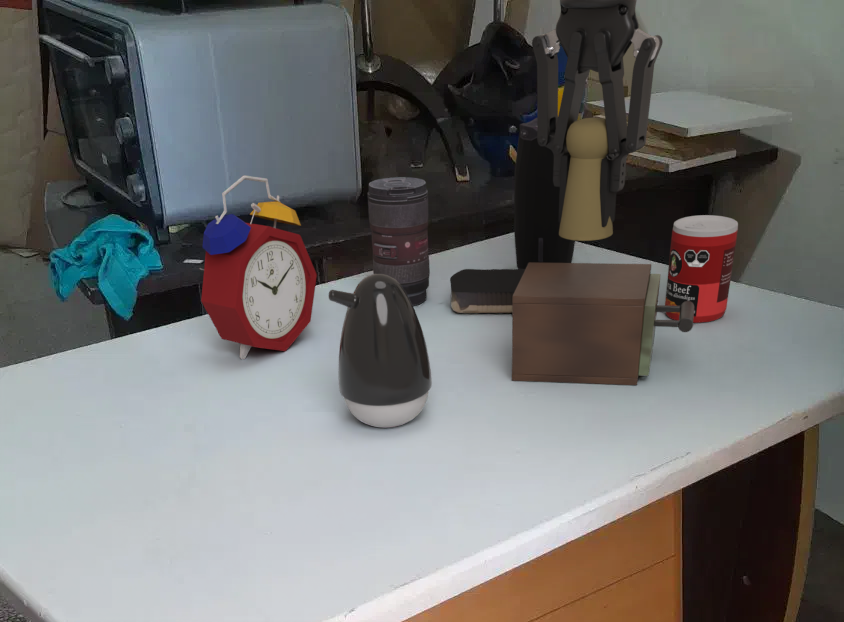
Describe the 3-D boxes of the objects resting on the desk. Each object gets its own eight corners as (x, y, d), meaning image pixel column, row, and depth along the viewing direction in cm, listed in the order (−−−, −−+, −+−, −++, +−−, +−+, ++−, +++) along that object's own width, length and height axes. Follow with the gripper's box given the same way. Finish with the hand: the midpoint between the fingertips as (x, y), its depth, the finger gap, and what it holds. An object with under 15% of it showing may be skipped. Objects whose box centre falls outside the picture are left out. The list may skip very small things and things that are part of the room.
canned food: (653, 309, 136) (662, 219, 129) (707, 301, 137) (718, 211, 130) (681, 327, 130) (692, 234, 123) (736, 318, 132) (750, 226, 125)
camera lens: (438, 304, 142) (434, 185, 132) (382, 312, 140) (374, 192, 130) (423, 288, 148) (418, 172, 138) (369, 295, 146) (360, 179, 136)
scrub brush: (570, 295, 142) (571, 267, 139) (566, 316, 135) (567, 287, 133) (455, 295, 144) (454, 268, 142) (446, 315, 138) (445, 287, 136)
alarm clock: (246, 370, 127) (217, 192, 113) (198, 357, 131) (165, 184, 118) (324, 333, 135) (305, 164, 122) (277, 323, 139) (254, 158, 126)
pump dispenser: (330, 410, 116) (314, 268, 106) (416, 394, 118) (408, 254, 108) (355, 444, 109) (340, 296, 99) (446, 427, 111) (441, 280, 101)
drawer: (689, 341, 124) (698, 274, 119) (686, 377, 116) (695, 306, 110) (544, 337, 127) (546, 271, 122) (531, 372, 119) (533, 302, 114)
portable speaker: (531, 263, 154) (535, 113, 141) (586, 271, 150) (594, 117, 137) (501, 278, 149) (502, 124, 136) (556, 287, 145) (563, 129, 132)
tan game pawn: (549, 230, 115) (552, 118, 108) (596, 222, 116) (603, 111, 109) (573, 243, 110) (579, 127, 103) (623, 235, 112) (631, 120, 105)
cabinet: (643, 346, 126) (651, 263, 120) (636, 385, 117) (644, 298, 111) (527, 342, 129) (528, 262, 123) (511, 380, 120) (512, 296, 113)
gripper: (700, -50, 96) (672, 220, 111) (539, -47, 103) (533, 206, 119) (669, -43, 91) (644, 238, 107) (503, -40, 99) (502, 222, 114)
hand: (586, 221), depth 113 cm, fingers closed on tan game pawn, 4 cm apart
